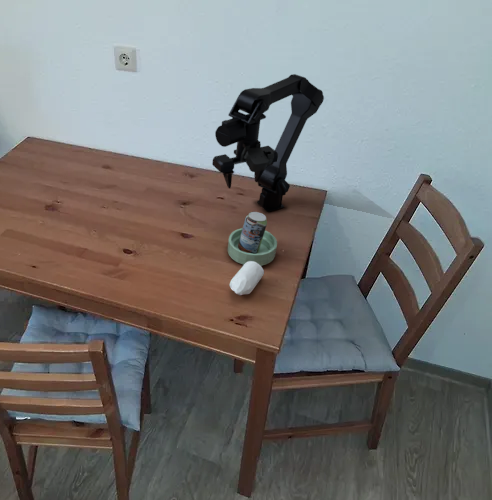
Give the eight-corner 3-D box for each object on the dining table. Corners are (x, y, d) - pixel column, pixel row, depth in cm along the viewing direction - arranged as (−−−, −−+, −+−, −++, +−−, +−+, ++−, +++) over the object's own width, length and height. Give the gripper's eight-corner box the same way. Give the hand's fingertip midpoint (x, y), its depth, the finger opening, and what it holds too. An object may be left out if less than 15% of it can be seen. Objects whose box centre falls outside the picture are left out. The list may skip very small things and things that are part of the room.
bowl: (259, 235, 162) (260, 223, 159) (284, 261, 152) (286, 248, 149) (219, 245, 158) (220, 233, 156) (242, 272, 148) (243, 259, 145)
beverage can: (233, 249, 156) (236, 214, 148) (252, 241, 159) (257, 206, 152) (247, 260, 151) (252, 225, 144) (267, 252, 154) (272, 217, 147)
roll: (223, 298, 140) (224, 282, 136) (242, 273, 148) (244, 257, 144) (244, 306, 137) (246, 290, 134) (263, 281, 145) (265, 264, 142)
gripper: (232, 154, 143) (228, 204, 152) (292, 141, 148) (284, 191, 157) (213, 137, 151) (209, 186, 160) (270, 126, 156) (264, 174, 166)
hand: (242, 184), depth 161 cm, fingers open, 9 cm apart
